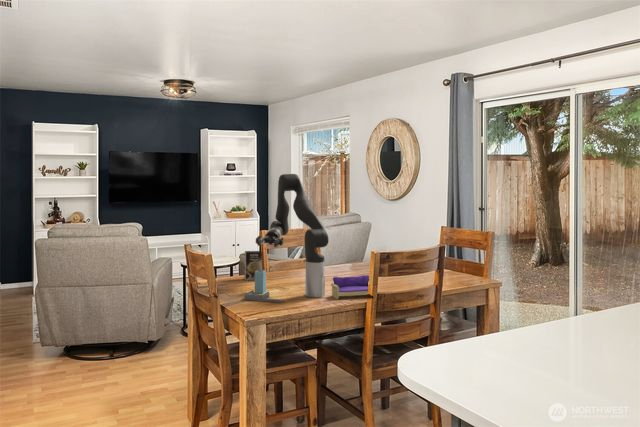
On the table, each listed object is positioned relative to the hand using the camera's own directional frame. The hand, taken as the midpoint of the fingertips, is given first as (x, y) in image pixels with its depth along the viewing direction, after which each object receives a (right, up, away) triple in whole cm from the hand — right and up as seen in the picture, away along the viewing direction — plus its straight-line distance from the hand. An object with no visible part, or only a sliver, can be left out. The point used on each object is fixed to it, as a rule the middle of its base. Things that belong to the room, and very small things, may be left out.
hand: (266, 244), depth 282 cm
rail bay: (+2, -25, -20) cm, 32 cm away
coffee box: (-11, -22, +28) cm, 37 cm away
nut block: (-3, -24, -5) cm, 25 cm away
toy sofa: (+44, -26, -11) cm, 52 cm away
